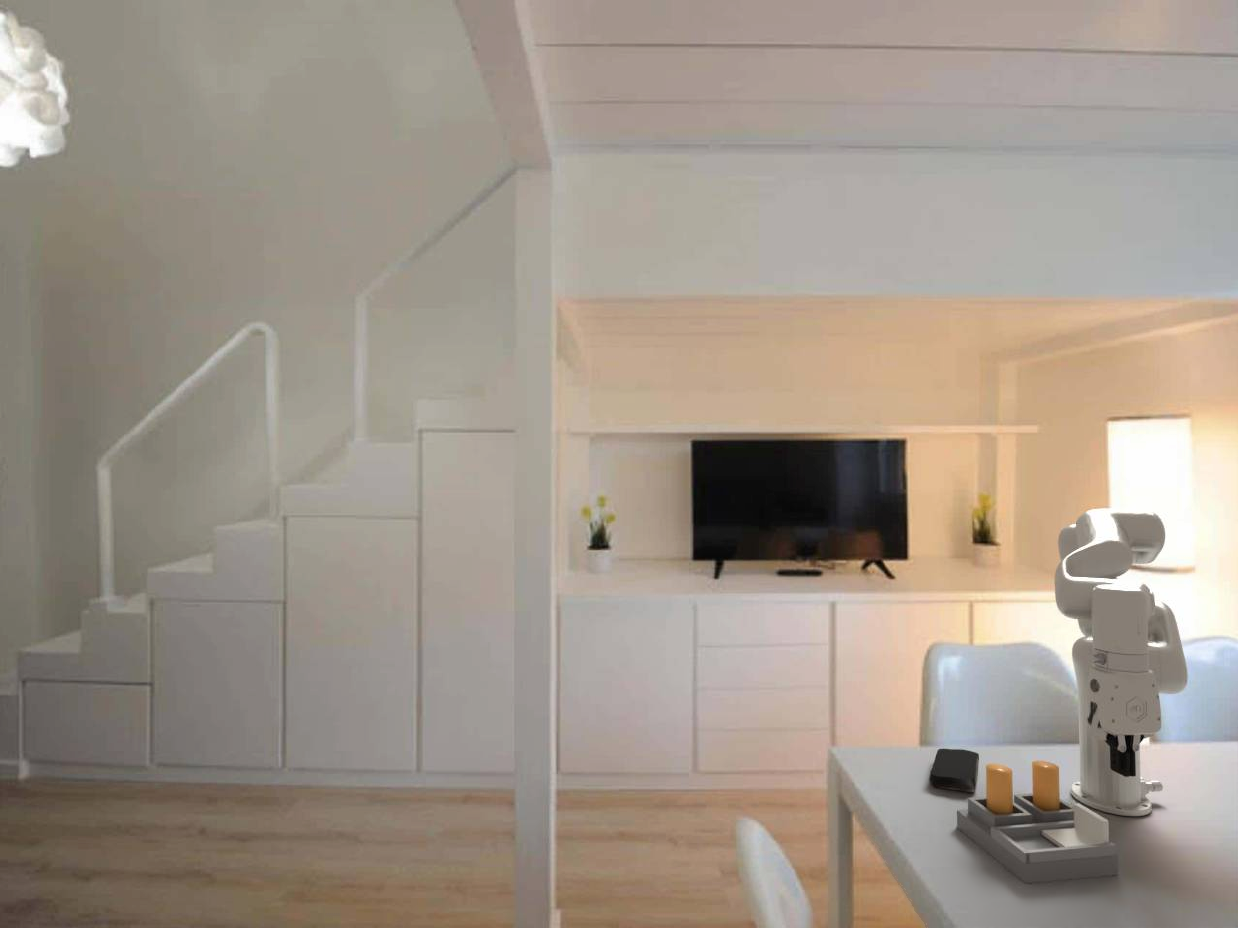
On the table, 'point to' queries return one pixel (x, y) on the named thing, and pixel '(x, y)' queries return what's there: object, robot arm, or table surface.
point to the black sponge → (955, 769)
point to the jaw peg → (999, 789)
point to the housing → (1036, 834)
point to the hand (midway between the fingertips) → (1122, 772)
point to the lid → (1081, 829)
